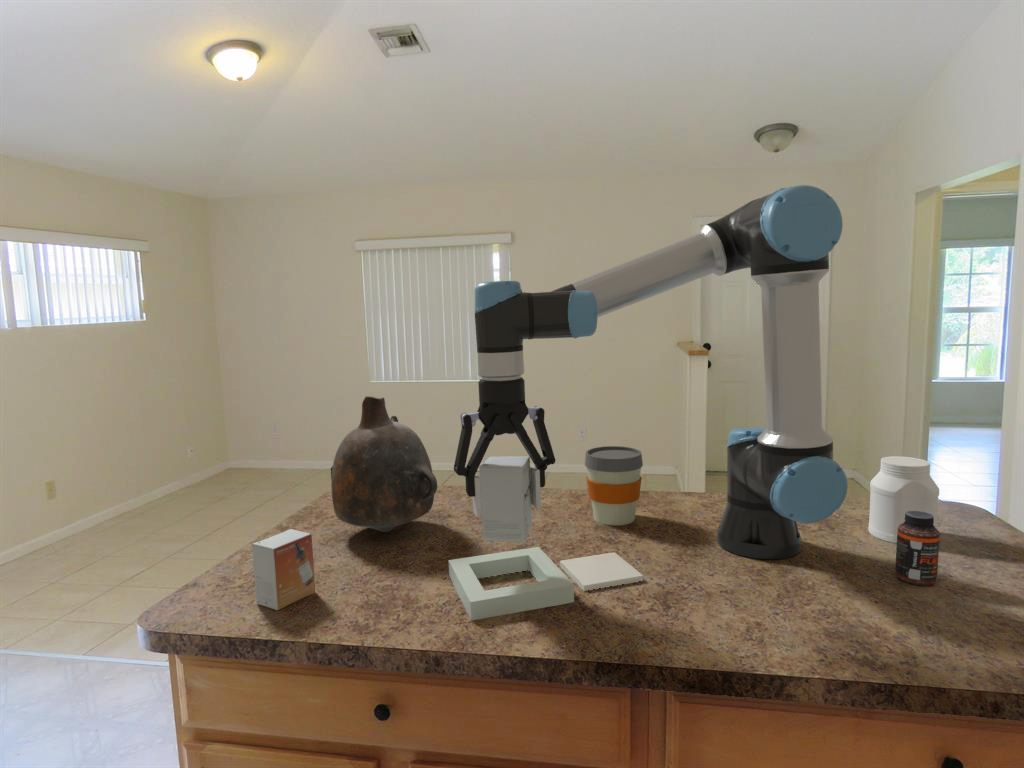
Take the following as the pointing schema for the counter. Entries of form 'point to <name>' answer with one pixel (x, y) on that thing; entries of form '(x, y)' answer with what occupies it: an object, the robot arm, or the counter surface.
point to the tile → (600, 571)
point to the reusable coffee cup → (614, 483)
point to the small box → (283, 569)
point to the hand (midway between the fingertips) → (507, 510)
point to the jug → (381, 472)
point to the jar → (900, 495)
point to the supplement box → (506, 498)
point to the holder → (514, 598)
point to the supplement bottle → (917, 549)
